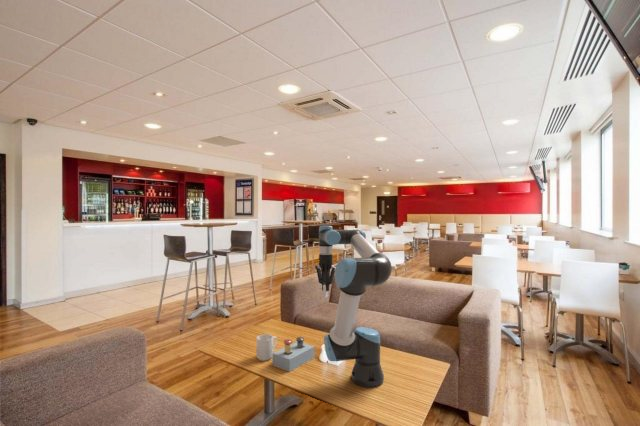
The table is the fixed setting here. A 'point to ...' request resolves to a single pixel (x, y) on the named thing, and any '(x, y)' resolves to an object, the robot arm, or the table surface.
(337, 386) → the table surface
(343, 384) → the table surface
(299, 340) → the dark plug
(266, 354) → the mug
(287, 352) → the brass plug
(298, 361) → the block
